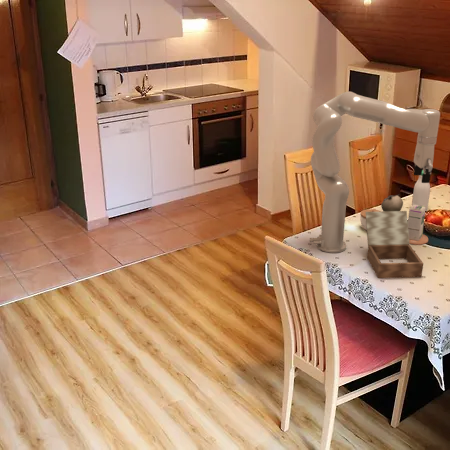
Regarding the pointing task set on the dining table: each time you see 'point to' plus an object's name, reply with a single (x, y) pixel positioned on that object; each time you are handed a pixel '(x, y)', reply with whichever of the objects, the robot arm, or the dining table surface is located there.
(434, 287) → the dining table surface
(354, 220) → the dining table surface
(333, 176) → the robot arm
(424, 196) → the milk bottle
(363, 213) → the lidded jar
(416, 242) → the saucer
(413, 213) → the syrup box
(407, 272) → the cold frame
